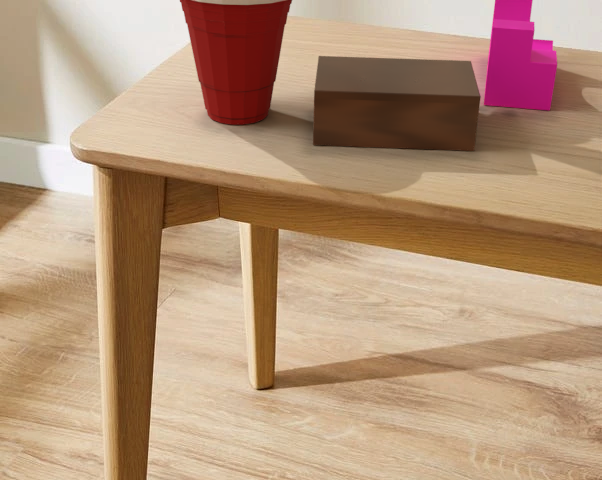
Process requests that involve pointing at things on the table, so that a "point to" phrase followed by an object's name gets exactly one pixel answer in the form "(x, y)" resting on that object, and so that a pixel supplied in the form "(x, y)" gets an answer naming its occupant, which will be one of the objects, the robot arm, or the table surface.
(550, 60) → the toy block
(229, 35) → the plastic cup
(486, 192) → the table surface
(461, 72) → the block
